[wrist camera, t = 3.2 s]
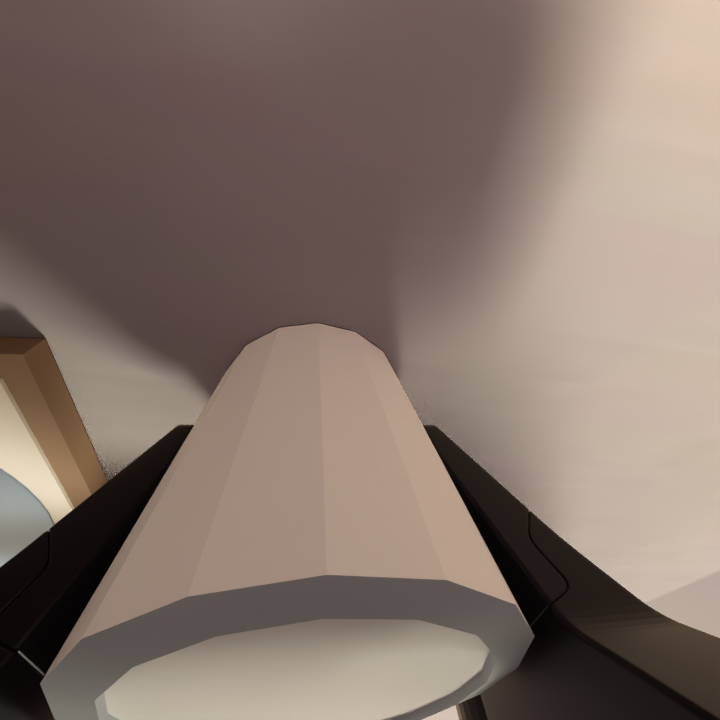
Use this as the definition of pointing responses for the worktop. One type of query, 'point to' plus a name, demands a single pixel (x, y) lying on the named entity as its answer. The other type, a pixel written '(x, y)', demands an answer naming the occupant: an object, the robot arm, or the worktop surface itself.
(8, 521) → the wooden picture frame
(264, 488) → the white cup
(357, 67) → the worktop surface
